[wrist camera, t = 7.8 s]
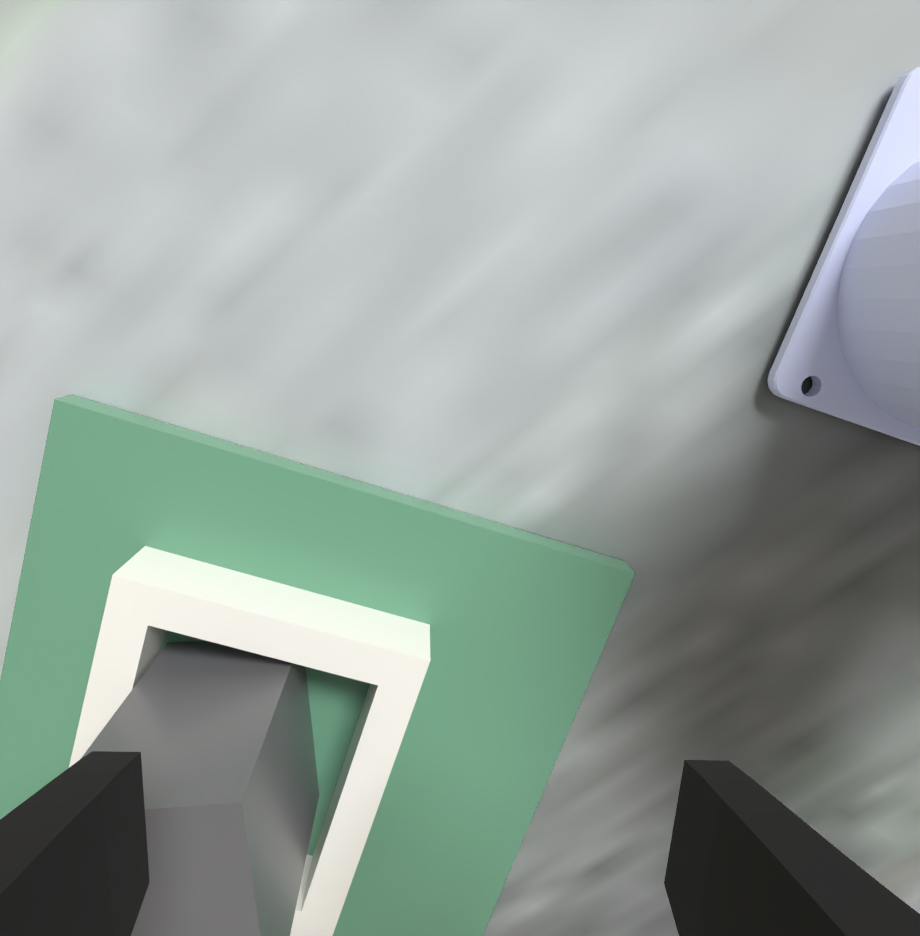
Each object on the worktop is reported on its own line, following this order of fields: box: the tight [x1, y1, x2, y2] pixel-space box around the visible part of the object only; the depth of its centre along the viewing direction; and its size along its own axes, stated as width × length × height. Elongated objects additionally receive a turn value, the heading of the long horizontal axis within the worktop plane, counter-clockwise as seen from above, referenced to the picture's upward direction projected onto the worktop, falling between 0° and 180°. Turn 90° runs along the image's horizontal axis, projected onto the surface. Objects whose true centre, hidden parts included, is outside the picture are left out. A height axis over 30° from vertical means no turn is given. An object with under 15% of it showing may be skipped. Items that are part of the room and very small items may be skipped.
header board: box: [0, 395, 635, 936], centre depth 18 cm, size 15×15×3 cm
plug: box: [81, 640, 319, 936], centre depth 15 cm, size 4×6×6 cm, turn 2°
